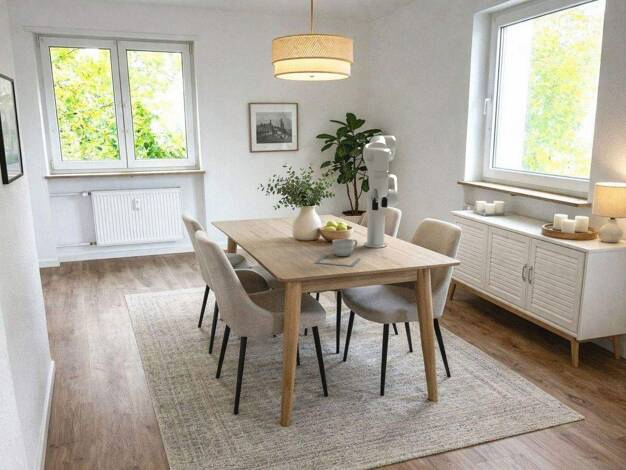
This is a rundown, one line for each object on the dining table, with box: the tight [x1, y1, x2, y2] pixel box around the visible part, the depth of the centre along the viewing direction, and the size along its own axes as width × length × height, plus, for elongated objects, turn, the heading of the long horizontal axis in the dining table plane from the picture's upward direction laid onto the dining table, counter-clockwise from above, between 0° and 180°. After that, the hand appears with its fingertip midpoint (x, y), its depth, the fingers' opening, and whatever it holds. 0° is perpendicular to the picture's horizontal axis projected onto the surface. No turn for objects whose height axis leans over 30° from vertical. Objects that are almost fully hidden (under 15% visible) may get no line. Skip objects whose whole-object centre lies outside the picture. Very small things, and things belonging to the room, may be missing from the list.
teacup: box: [331, 238, 359, 257], centre depth 267 cm, size 14×11×8 cm
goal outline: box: [313, 255, 362, 268], centre depth 255 cm, size 16×20×1 cm
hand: (379, 208), depth 261 cm, fingers open, 9 cm apart
